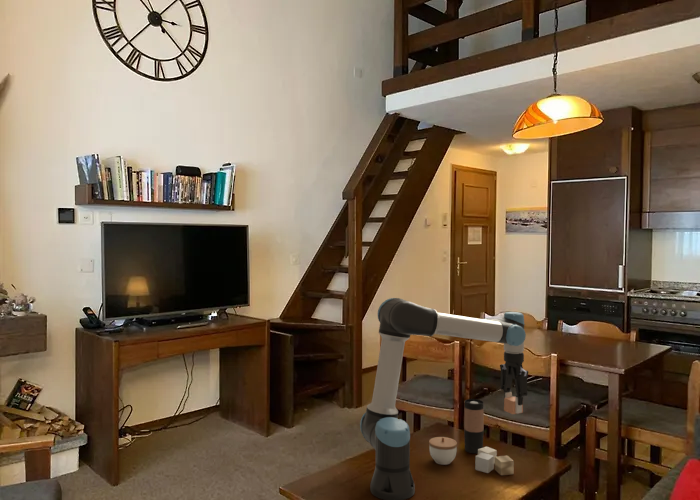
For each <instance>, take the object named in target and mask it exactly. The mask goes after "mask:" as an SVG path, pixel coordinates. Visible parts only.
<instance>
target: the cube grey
mask: <svg viewBox="0 0 700 500" xmlns="http://www.w3.org/2000/svg"><path fill="white" fill-rule="evenodd" d="M474 457H475V464H474V465H475V467H474V469H475V471H478V472H483V473H486V474H489V473H490V472H491V471H493V470H495V464H494V456H493V455H489V454H485V453H480V454H478V453H477V455H475V456H474Z"/></svg>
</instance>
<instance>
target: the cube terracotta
mask: <svg viewBox="0 0 700 500" xmlns="http://www.w3.org/2000/svg"><path fill="white" fill-rule="evenodd" d="M503 399H504V400H503V402H504V404H503V411H504V412H506V413H508V414H511V415H518V414H519V413H517V414H516V413H515V396H512V397H508V398H504V397H503ZM522 413H524V404H523V405H522ZM522 413H521V414H522Z"/></svg>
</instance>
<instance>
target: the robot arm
mask: <svg viewBox="0 0 700 500" xmlns="http://www.w3.org/2000/svg"><path fill="white" fill-rule="evenodd" d="M377 319H378V321H379V327H378V334H379V335H380V337H381V342H380V343H381V344H380V347H379V355H378V360H377V366H376V367H377V368H376V375H375V378H374V379H375V380H374V387H373V393H372V399H371V402H370V403H368V404H367V405H366V410H365V412H364V413H363V415H362V416H361V419H360V421H359V427H360V429H359V430H360V432H361V434H362V437H363V438H364V439H365V441H366V442H368V443H369V444H370V446H371V447H372V448H373V449H374V450H375V468H374V472H373V474H372V475H373V476H372V478H371V481H370V484H369V485H370V488H369V489H370V493H371V494H372V495H373V496H374V497H375V498H377V499H380V500H408V499H410V498H411V497H413V496H414V495H415V491H416V489H415V487H416V485H415V482H414V481H415V480H414V478H413V475H412V473H411V472H412V471H411V469H410V467H411V465H410V462H411V461H410V459H411V456H410V455H411V454H410V453H411V447H410V445H411V432H410V426H409V424H408V423H407V422H406V421H405V420H403V419H402V418H399V419H398V416H399V415H398V414H399V410H398V409H397V408H396V402H397V401H396V400H397V395H398V389H399V382H400V375H401V370H402V364H403V355H404V350H405V343H406V341H408V340H410V339H411V336H426V337H433V336H434V335H439V336H440V335H441V336H448V337H456V338H461V339H462V338H463V339H469V340H478V341H484V342H485V341H486V342H494V343H499V344H503V350H504V352H503V361H504V362H505V363H504V364H503V363H502V364H499V369H500V385H499V386H500V390H503V392H504V394H503V395H504V397H503V399H504V398H508V397H513V393H512V383H513V380H514V385H515V390H516V391H515V392H516V393H515V394H516V395H515V396H514V397H515V413H516V414H515V415H518V414H522V405H523V406H524V397H527V396H528V376H529V371H528V370H525V369H524V366H523V363H524V362H525V354H524V351H525V341H526V337H527V335H526V331H525V325H526V324H525V316H524V313H522V312H520V311H506V312H504V313H503V317H500V318H499V317H498V318H497V317H496V318H494V317H492V318H486V317H485V318H477V317H472V316H471V317H469V316H463V315H456V314H450V313H443V312H438V311H437V309H435V308H430V307H426V306H423V305H420V304H417V303H415V302H413V301H409V300H406V299H403V298H399V297H389V298H387V299H386V300H384V301H382V303H381V304H380V305H379V308H378V309H377ZM517 413H518V414H517Z"/></svg>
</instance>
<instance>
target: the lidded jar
mask: <svg viewBox="0 0 700 500" xmlns="http://www.w3.org/2000/svg"><path fill="white" fill-rule="evenodd" d="M428 445H429V447H428V448H429V455H430V457H431V458H432V460H434V462H435V463H436V464H438V465H442V466H444V465H445V466H447V465H450V464H451V463H452V462H453V461H454V460H455V458H456V456H457V451H458V448H457V447H458V442H457V441H456V440H455V439H453V438H451V437H447V436H436V437H432V438H429V441H428Z"/></svg>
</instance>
